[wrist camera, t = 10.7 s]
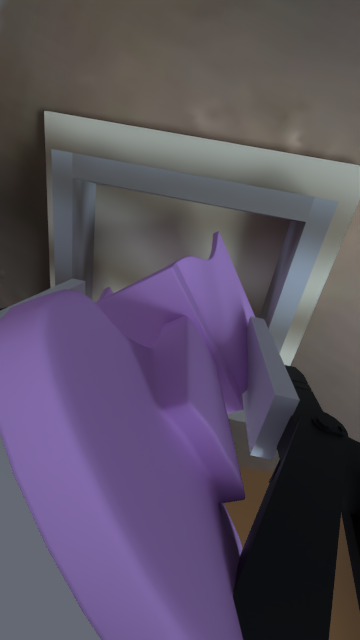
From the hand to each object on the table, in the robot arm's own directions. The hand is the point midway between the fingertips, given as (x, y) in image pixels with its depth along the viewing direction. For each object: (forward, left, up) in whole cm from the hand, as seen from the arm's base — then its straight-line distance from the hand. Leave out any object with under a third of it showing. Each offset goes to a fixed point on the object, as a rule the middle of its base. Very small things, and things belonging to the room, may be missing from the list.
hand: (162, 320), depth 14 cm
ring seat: (0, 0, -6) cm, 6 cm away
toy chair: (0, 0, -3) cm, 3 cm away
